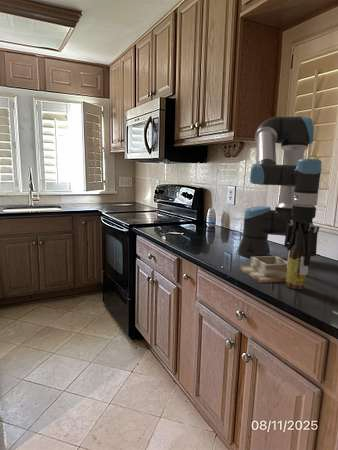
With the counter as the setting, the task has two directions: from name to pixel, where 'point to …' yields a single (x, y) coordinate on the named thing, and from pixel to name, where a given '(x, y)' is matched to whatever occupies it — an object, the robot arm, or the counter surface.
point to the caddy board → (266, 269)
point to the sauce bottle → (295, 265)
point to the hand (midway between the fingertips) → (296, 271)
